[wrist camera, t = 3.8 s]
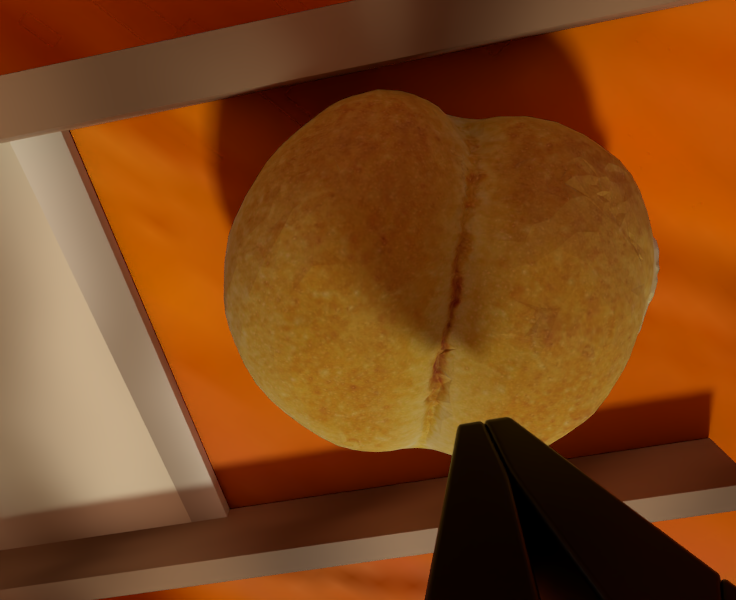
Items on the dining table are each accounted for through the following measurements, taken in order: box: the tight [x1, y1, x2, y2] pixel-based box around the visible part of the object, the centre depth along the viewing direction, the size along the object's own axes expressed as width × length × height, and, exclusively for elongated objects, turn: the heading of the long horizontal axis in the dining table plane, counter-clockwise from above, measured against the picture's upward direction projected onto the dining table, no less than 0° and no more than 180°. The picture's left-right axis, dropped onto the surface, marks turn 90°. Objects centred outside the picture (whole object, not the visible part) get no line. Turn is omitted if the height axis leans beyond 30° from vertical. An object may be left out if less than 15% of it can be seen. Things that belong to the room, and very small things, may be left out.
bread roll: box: [224, 89, 659, 455], centre depth 10 cm, size 8×9×4 cm
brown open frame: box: [0, 0, 736, 600], centre depth 11 cm, size 25×14×3 cm, turn 100°
